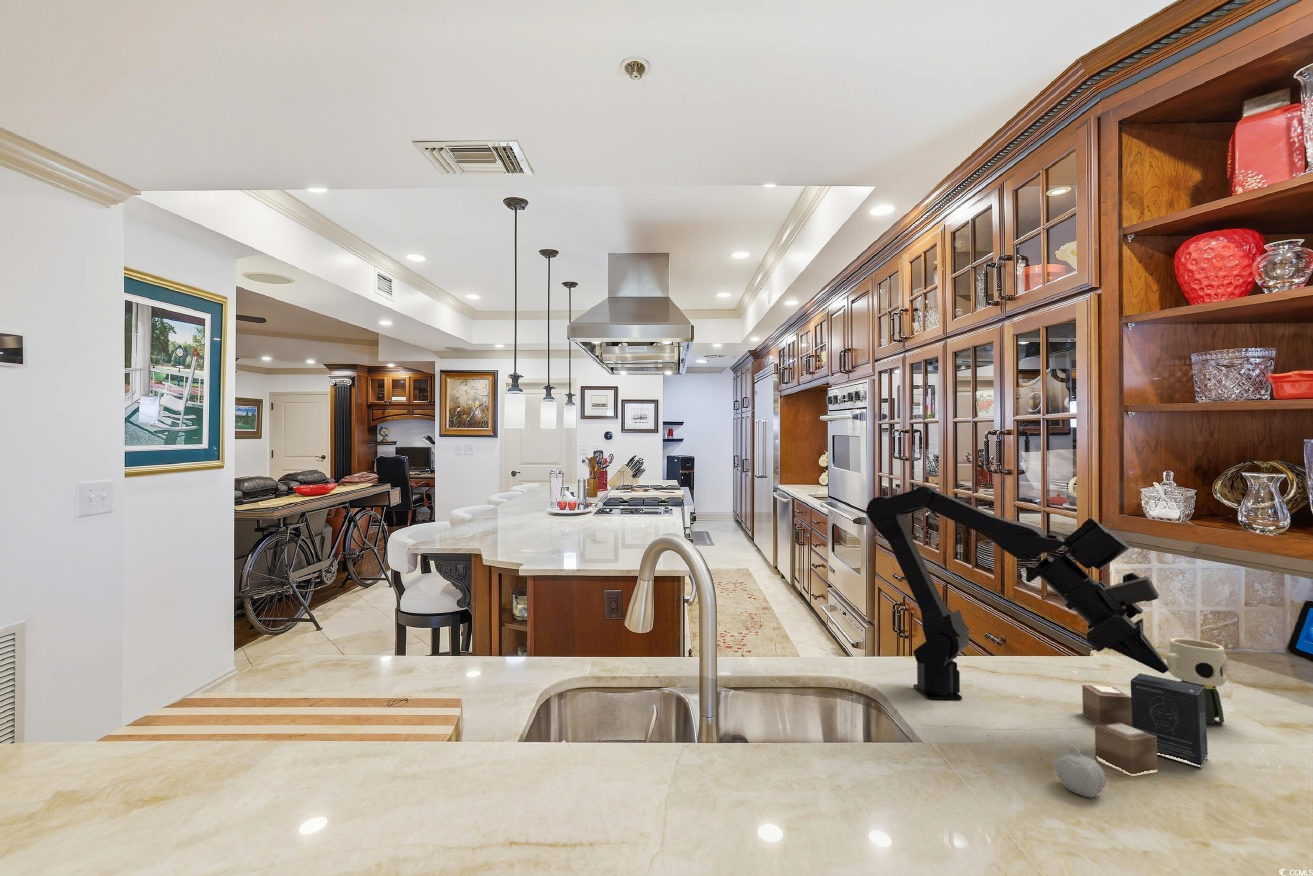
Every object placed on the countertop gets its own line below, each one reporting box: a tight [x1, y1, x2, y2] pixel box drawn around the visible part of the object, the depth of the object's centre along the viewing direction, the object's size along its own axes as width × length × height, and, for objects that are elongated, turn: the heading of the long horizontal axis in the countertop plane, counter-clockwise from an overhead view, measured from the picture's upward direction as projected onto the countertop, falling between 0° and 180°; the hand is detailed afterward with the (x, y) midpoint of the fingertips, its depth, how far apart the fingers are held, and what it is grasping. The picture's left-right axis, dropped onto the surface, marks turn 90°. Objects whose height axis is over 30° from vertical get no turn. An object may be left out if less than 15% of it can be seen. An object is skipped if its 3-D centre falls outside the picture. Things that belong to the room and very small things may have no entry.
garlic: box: [1055, 745, 1107, 798], centre depth 77 cm, size 6×5×5 cm
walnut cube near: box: [1094, 722, 1159, 774], centre depth 84 cm, size 5×5×5 cm
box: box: [1130, 672, 1209, 766], centre depth 88 cm, size 8×6×11 cm
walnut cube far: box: [1081, 684, 1132, 727], centre depth 100 cm, size 5×5×5 cm
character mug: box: [1166, 637, 1228, 724], centre depth 101 cm, size 11×7×13 cm, turn 94°
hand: (1166, 671), depth 89 cm, fingers closed
